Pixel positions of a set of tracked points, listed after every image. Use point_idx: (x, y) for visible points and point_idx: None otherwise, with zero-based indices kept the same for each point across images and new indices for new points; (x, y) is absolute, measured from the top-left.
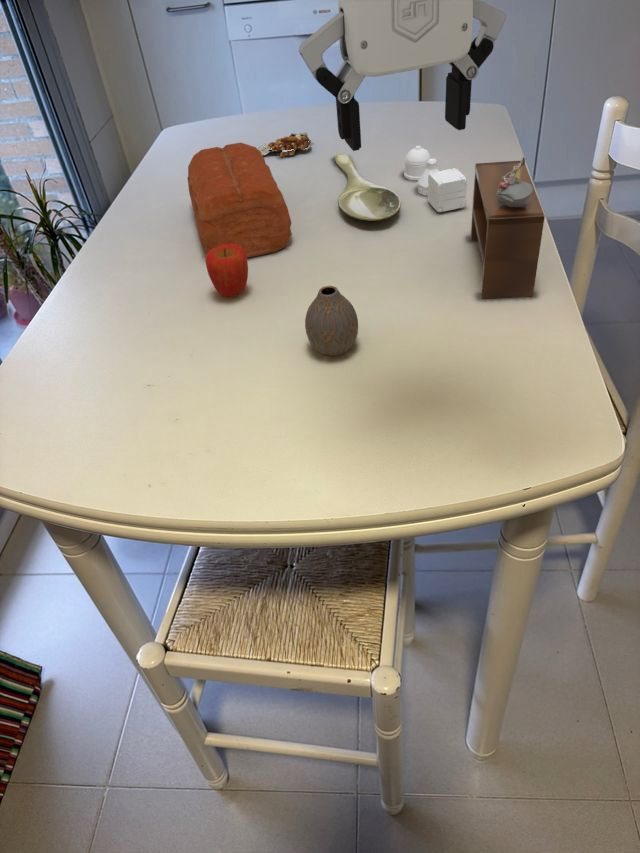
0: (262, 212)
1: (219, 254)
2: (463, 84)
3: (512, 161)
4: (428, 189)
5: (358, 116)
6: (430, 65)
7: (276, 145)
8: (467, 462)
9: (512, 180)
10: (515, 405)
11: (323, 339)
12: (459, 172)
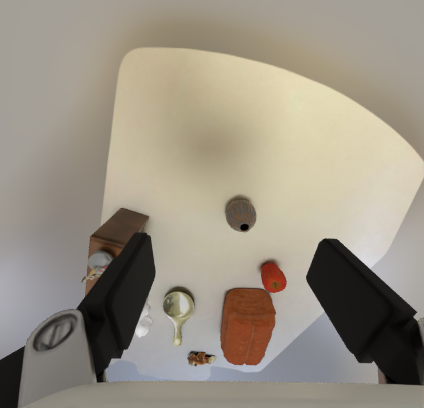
0: (242, 310)
1: (277, 286)
2: (99, 299)
3: None
4: (145, 305)
5: (364, 283)
6: (208, 388)
7: (205, 360)
8: (209, 85)
9: (99, 268)
10: (164, 122)
11: (250, 204)
12: None
